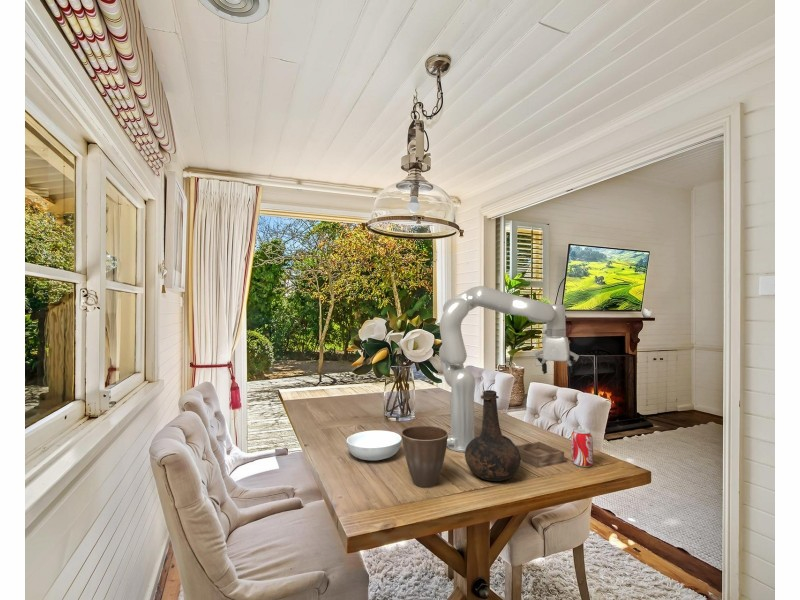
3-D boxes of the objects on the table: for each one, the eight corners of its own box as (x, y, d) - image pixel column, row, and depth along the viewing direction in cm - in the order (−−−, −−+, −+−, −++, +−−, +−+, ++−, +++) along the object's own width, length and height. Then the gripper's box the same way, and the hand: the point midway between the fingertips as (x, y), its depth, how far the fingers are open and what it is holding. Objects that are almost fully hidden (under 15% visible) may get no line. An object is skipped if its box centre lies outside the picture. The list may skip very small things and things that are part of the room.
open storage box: (536, 468, 137) (536, 457, 137) (510, 454, 150) (510, 445, 150) (567, 461, 142) (566, 452, 143) (539, 449, 155) (539, 440, 155)
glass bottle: (532, 479, 128) (530, 392, 129) (492, 492, 118) (491, 399, 119) (492, 461, 143) (491, 384, 144) (454, 472, 134) (453, 389, 135)
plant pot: (458, 485, 123) (457, 434, 124) (419, 498, 115) (419, 442, 116) (429, 470, 136) (429, 423, 136) (393, 480, 128) (392, 430, 128)
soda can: (584, 469, 135) (583, 434, 136) (567, 463, 141) (566, 429, 142) (597, 466, 138) (597, 431, 139) (580, 459, 145) (579, 426, 145)
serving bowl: (376, 443, 164) (376, 426, 164) (413, 456, 149) (412, 438, 149) (335, 456, 149) (335, 438, 150) (371, 472, 135) (371, 451, 135)
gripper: (532, 333, 168) (533, 373, 167) (576, 334, 158) (577, 377, 158) (537, 332, 174) (538, 371, 174) (579, 333, 164) (580, 374, 164)
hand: (556, 374), depth 166 cm, fingers open, 9 cm apart
